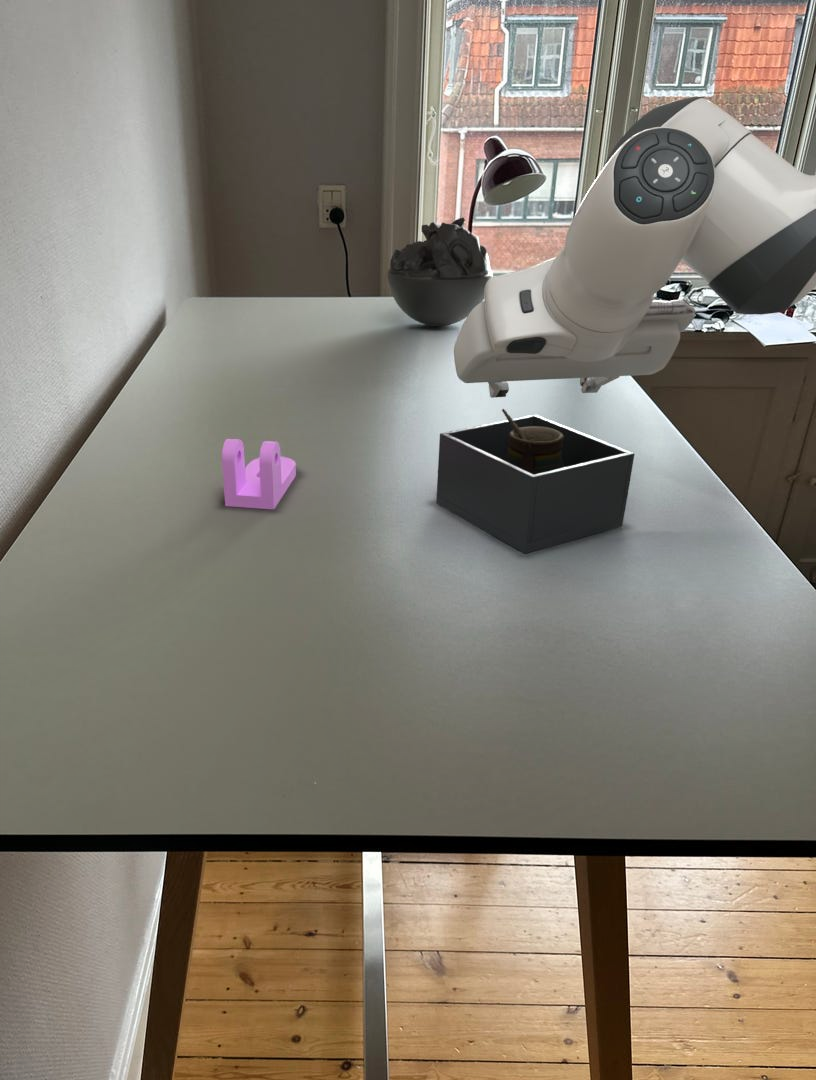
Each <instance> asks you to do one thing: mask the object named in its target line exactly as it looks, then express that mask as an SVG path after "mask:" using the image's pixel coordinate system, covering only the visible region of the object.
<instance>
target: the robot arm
mask: <svg viewBox="0 0 816 1080" xmlns="http://www.w3.org/2000/svg"><path fill="white" fill-rule="evenodd" d="M681 262H682V263H683V264H685V266H687V267H688V268H689V269H690V270H691V271H692V272H694V273H696V274H697V275H698V276H699V277H701V278H702V279H703V280H704V281H705V282H707V283H708V284H707V286H708V287H709V288H710V289H711V290H712V291H713V292H714V293H715V294H716V295H717V296H718V297H719V298H720V299H721V300H722V301H723V302H724V303H725V304H726V305H727V306H728V307H729V308H730V309H731V310H732V311H733V312H734V313H735V314H738V315H739V314H741V315H770V314H776V313H778V314H779V313H782V312H783V313H784V312H786V311H788V309H789V308H791V307H792V306H794V305H796V304H798V303H799V302H800V301H801V300H803V299H804V298H805V297H806V296H807V295H808V294H810V292H812V291H813V290H814V288H815V287H816V174H814V175H810V174H806V173H804V172H802V171H800V170H799V169H797V168H796V167H795V166H794V165H792V164H791V163H790V162H788V161H787V160H786V159H784V157H782V156H781V155H780V154H778V152H775V150H773V149H772V148H770V147H769V146H768V145H766V144H765V143H764V142H763V141H761V140H760V139H759V138H757V136H755V135H754V134H753V132H752V131H751V130H750V129H749V128H747V127H746V126H745V125H743V124H742V123H741V122H739V121H738V120H737V119H736V118H735V117H733V116H732V115H730V114H729V113H728V112H726V111H725V110H724V109H723V108H721V107H720V106H719V105H717V104H715V103H714V102H712V101H710V100H708V99H707V98H706V97H705V96H690V97H685V98H681V99H677V100H674V101H671V102H670V101H669V102H667V103H665V104H661V105H659V106H656V107H654V108H652V109H651V110H650V111H648V112H647V113H645V114H644V115H642V116H641V117H640V118H639V119H638V120H637V121H636V122H634V123H633V125H632V126H630V128H629V129H628V130H627V131H626V132H625V134H623V136H622V137H621V138H620V140H618V142H617V143H616V145H614V148H613V149H612V150H611V152H610V154H609V155H608V157H607V159H606V160H605V162H604V165H603V166H602V168H601V170H600V172H599V174H598V175H597V177H596V179H595V180H594V182H593V183H592V184H591V186H590V188H589V189H588V191H587V193H586V194H585V196H584V198H583V199H582V201H581V203H580V204H579V207H578V208H577V210H576V213H575V214H574V217H573V219H572V220H571V223H570V225H569V227H568V230H567V232H566V236H565V240H564V247H563V248H562V249H560V251H559V252H558V254H557V255H556V256H555V257H552V258H550V259H547V260H545V261H543V262H541V263H538V264H535V265H533V266H530V267H526V268H523V269H519V270H515V271H512V272H508V273H503V274H499V275H496V276H492V278H491V279H489V280H488V281H487V283H486V285H485V289H484V300H483V301H482V302H481V303H480V304H478V305H477V306H476V307H475V308H473V310H472V311H471V312H470V313H469V315H468V317H466V318H465V319H464V322H463V324H462V325H461V328H460V330H459V331H458V335H457V336H456V340H455V342H454V345H453V358H454V368H455V373H456V376H457V378H458V379H459V380H460V381H461V382H463V383H465V384H478V383H487V384H488V390H489V391H488V393H489V397H490V398H491V399H492V398H493V399H494V398H506V397H507V394H508V393H509V391H510V387H509V383H508V382H522V381H523V382H524V381H542V380H543V381H545V380H565V379H579V386H581V388H580V391H581V393H582V394H595V393H598V392H599V390H600V389H601V387H602V386H605V385H607V384H610V382H612V381H614V380H616V379H619V378H620V377H633V376H650V375H654V374H656V373H658V372H660V371H662V370H664V369H665V368H666V366H668V363H669V362H670V360H672V357H673V355H674V353H675V351H676V349H677V348H678V345H679V342H680V339H681V333H682V332H683V331H685V330H686V329H687V328H689V326H690V325H691V323H692V322H693V321H694V320H695V317H696V309H695V307H694V306H693V305H690V304H687V302H686V300H678V299H673V300H670V301H668V300H662V299H661V300H655V299H654V297H655V294H657V292H659V291H660V290H661V289H662V288H663V287H665V285H666V284H667V283H668V282H669V280H670V279H671V277H672V276H673V274H674V273H675V271H676V270H677V268H678V266H679V265H680V263H681Z"/></svg>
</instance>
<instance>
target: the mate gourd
mask: <svg viewBox="0 0 816 1080" xmlns="http://www.w3.org/2000/svg"><path fill="white" fill-rule="evenodd" d="M501 412H502V413H503V415H504V416H505V418H506V420H508V421H509V422H510V424H511V425H512V427H513V428H514V430H512V431H511V432H510V434H509V442H508V445H509V448H508V451H507V454H506V456H505V458H504V461H506V462H508V463H510V464H512V465H514V466H516V467H519V468H521V469H523V470H525V471H527V472H529V473H531V474H538V473H543V472H547V471H551V470H555V469H560V468H564V464H563V461H562V456H561V449H562V446H563V438H564V436H563V434H562V433H561V432H559V431H557V430H555V429H552V428H548V427H540V426H528V427H521V428H518V426H517V424H516V423H515V422H514V421H513V419H514V418H512V417H511V415H509V413H508V412H507V411H506V410H505V409H504V408H502V409H501Z"/></svg>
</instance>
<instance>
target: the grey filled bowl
mask: <svg viewBox="0 0 816 1080" xmlns="http://www.w3.org/2000/svg"><path fill="white" fill-rule="evenodd" d="M465 223H466V219H465V217H460V218H457V219H455V220H453V221H452V222H451V223H448V222H444V221H443V222H441V224H439V223H436V222H435V221H434V222H433V221H431V222H430V224H429V225H428V224H422V225H421V233H422V234H423V235H424V238H425V240H423V241H421V240H418V241H414V242H411V243H407V244H406V245H405V247H403V248H402V249H400V250H399V249H395V250H394V252H393V254H392V256H391V259H390V263H389V268H388V269H387V283H388V288H389V290H390V293H391V295H392V297H393V299H394V301H395V303H396V304H397V306H398V307H399V308H400V309H401V311H402V312H403V313H405V314H406V316H407V317H409V318H410V319H412V320H413V321H415V322H418V323H419V324H422V325H426V326H431V327H444V326H450V325H453V324H456V323H459V322H461V321H463V320H466V318H467V317H468V315H469V313H470V312H471V311H472V310H473V308H475V307H476V306H477V305H478V304H480V303H481V302H483V301H484V289H485V285H486V283H487V281H488V280H489V279H491V278H493V277H494V272H493V270H492V269H491V265H490V256H489V254H488V250H487V248H486V247H485V246H484V245H481V244H480V237H479V236H477V235H476V234H474V233H473V232H470V230H468V229H467V228H466V227H464V225H465Z"/></svg>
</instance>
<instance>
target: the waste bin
mask: <svg viewBox="0 0 816 1080" xmlns="http://www.w3.org/2000/svg"><path fill="white" fill-rule="evenodd" d="M512 419H513V421H514V422H515V423H516V424H517V426H518V428H521V427H528V426H540V427H548V428H552V429H555V430H557V431H559V432H561V433H562V434H563V436H564V438H563V446H562V449H561V456H562V461H563V464H564V468H560V469H555V470H551V471H547V472H543V473H538V474H531V473H529V472H527V471H525V470H523V469H521V468H519V467H516V466H514V465H512V464H510V463H508V462H506V461H504V458H505V456H506V454H507V451H508V448H509V445H508V442H509V434H510V432H511V431H512V430H514V428H513V427H512V425H511V424H510V422H509V421H508V419H506V420H505V419H504V420H500V421H495V422H491V423H490V422H489V423H485V424H480V425H476V426H475V425H474V426H470V427H465V428H460V429H455V430H451V431H446V432H441V433H439V441H438V442H439V443H438V459H437V460H438V461H437V462H438V463H437V479H436V499H435V500H436V501H435V503H436V504H437V505H439V506H441V507H442V508H444V509H446V510H448V511H449V512H451V513H453V514H454V515H456V516H458V517H460V518H462V519H463V520H465V521H466V522H468V523H471V524H472V525H473V526H475V527H477V528H479V529H480V530H482V531H484V532H486V533H487V534H489V535H491V536H492V537H494V538H496V539H497V540H500V541H502V542H503V543H505V544H507V545H509V546H510V547H512V548H514V549H515V550H517V551H519V552H521V553H523V554H529V553H532V552H536V551H539V550H542V549H547V548H549V547H553V546H558V545H560V544H565V543H569V542H571V541H575V540H579V539H582V538H587V537H590V536H592V535H596V534H597V535H598V534H600V533H604V532H607V531H610V530H614V529H618V528H621V527H623V525H624V518H625V513H626V507H627V503H628V502H627V500H628V495H629V489H630V484H631V483H630V482H631V478H632V472H633V465H634V461H635V460H634V459H635V452H632V451H630V450H627V449H625V448H622V447H620V446H618V445H615V444H612V443H609V442H607V441H605V440H602V439H599V438H597V437H594V436H591V435H589V434H586V433H584V432H581V431H578V430H576V429H574V428H571V427H569V426H566V425H564V424H561V423H559V422H556V421H554V420H551V419H549V418H546V417H543V416H541V415H538V414H531V415H526V416H521V417H516V418H512Z"/></svg>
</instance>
